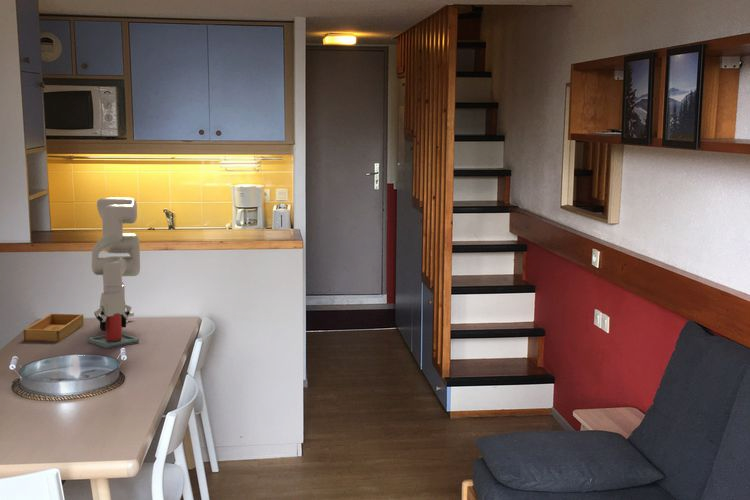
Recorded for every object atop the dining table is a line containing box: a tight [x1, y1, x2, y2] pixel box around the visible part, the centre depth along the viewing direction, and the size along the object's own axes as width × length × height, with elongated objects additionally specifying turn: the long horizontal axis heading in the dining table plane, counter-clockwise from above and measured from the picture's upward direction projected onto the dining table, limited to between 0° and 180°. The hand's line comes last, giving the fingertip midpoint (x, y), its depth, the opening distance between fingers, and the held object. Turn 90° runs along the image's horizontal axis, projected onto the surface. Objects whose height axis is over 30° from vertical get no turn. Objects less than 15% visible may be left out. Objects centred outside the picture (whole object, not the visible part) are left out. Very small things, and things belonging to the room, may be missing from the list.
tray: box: [23, 313, 84, 342], centre depth 366 cm, size 31×15×6 cm, turn 1°
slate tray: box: [87, 333, 140, 349], centre depth 352 cm, size 15×15×2 cm
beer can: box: [105, 313, 123, 342], centre depth 351 cm, size 7×7×12 cm
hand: (113, 328), depth 351 cm, fingers open, 9 cm apart
